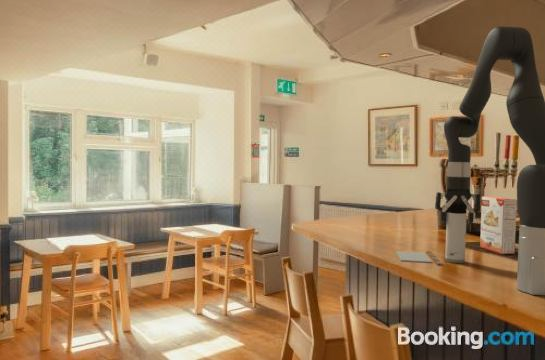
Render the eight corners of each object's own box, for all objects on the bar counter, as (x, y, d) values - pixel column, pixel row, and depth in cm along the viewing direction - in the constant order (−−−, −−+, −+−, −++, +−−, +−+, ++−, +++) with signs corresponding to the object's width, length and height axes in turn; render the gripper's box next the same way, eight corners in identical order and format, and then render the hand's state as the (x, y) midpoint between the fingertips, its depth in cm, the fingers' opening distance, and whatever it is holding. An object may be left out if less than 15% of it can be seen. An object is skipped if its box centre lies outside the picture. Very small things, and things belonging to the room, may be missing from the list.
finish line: (442, 265, 149) (442, 263, 149) (437, 265, 149) (437, 263, 149) (430, 252, 171) (430, 251, 171) (426, 252, 171) (426, 250, 171)
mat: (431, 262, 153) (431, 261, 152) (400, 261, 154) (400, 259, 154) (424, 253, 168) (424, 252, 168) (396, 252, 170) (396, 251, 170)
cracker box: (478, 247, 185) (481, 195, 184) (492, 247, 186) (494, 196, 185) (500, 254, 171) (503, 198, 170) (515, 254, 172) (517, 198, 171)
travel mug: (453, 263, 152) (455, 203, 151) (441, 259, 158) (443, 202, 158) (469, 263, 154) (471, 203, 153) (456, 259, 160) (458, 202, 159)
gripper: (438, 175, 152) (436, 223, 153) (484, 176, 150) (482, 225, 151) (434, 174, 160) (432, 221, 160) (477, 176, 157) (475, 223, 158)
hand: (456, 223), depth 156 cm, fingers open, 8 cm apart
